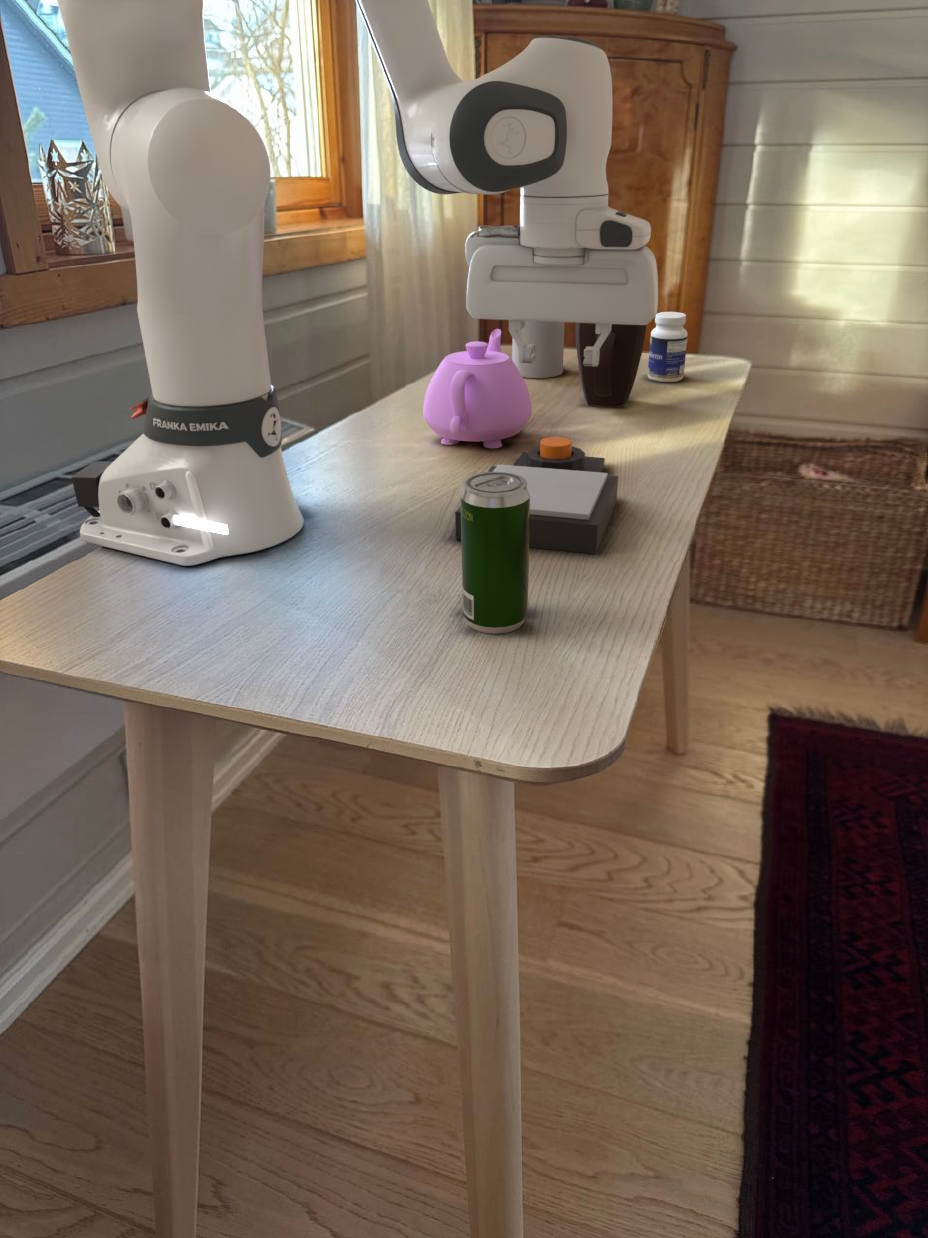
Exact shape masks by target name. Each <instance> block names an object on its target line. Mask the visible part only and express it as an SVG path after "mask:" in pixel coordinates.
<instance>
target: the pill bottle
mask: <svg viewBox="0 0 928 1238" xmlns="http://www.w3.org/2000/svg"><path fill="white" fill-rule="evenodd" d="M686 322H687V314H686V313H684V312H678V311H661V312H657V313H656V316H655V317H654V323H655V327H654V328H653V329H652V330H651V332H650V338H649V339H650V340H649V350H648V363H647V364H648V365H647V378H648V379H649V380H651V381H653V382H658V383H677V382H679V381H681V380H683V378H684V375H685V368H686V367H685V366H686V357H687V355H686V354H687V346H688V331H687V329H685V327H684V325H685V324H686Z"/></svg>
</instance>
